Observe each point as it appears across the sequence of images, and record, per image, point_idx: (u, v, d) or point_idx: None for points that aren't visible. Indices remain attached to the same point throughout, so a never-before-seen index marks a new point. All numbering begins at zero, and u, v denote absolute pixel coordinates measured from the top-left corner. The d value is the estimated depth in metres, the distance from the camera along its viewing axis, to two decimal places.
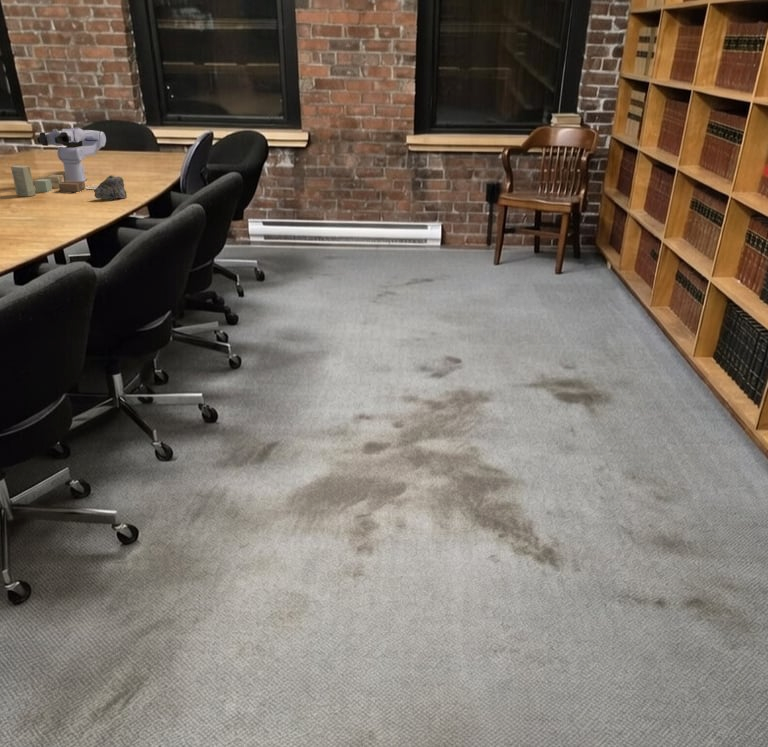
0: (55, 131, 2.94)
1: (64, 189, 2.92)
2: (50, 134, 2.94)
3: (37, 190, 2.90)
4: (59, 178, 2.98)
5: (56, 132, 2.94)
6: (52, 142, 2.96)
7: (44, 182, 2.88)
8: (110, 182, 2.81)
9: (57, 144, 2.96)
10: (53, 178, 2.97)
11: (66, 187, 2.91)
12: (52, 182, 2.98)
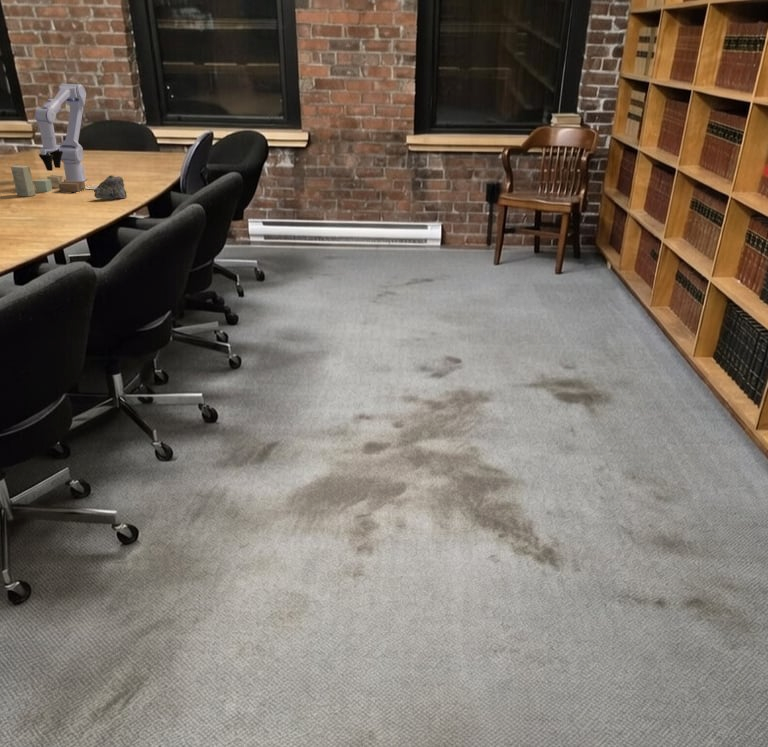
0: None
1: (64, 189, 2.92)
2: None
3: (37, 190, 2.90)
4: (59, 178, 2.98)
5: None
6: None
7: (44, 182, 2.88)
8: (110, 182, 2.81)
9: (56, 150, 2.94)
10: (53, 178, 2.97)
11: (66, 186, 2.91)
12: (52, 182, 2.98)
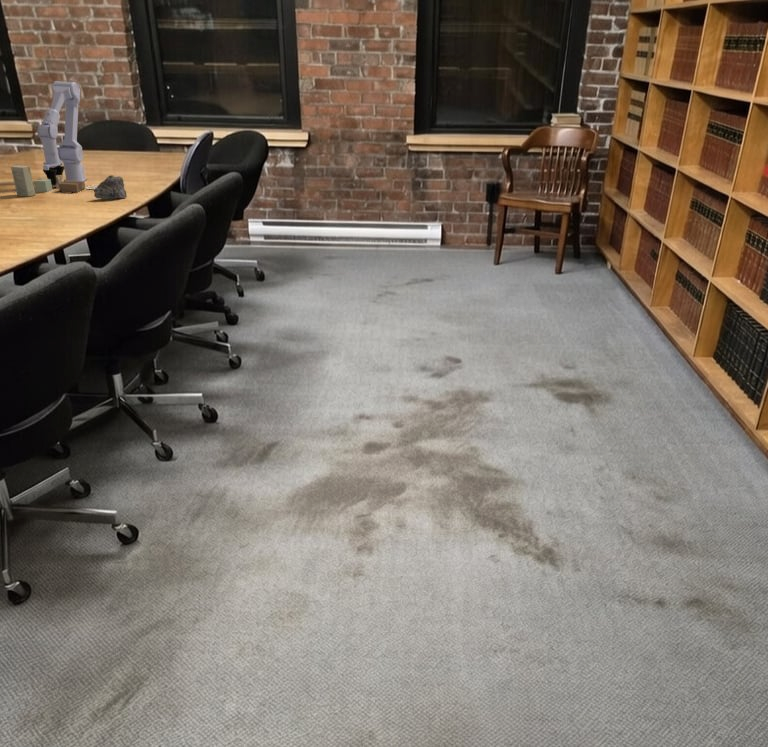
0: None
1: (64, 189, 2.92)
2: None
3: (37, 190, 2.90)
4: (59, 178, 2.98)
5: (46, 164, 2.96)
6: None
7: (44, 182, 2.88)
8: (110, 182, 2.81)
9: (58, 165, 2.97)
10: None
11: (65, 186, 2.91)
12: None
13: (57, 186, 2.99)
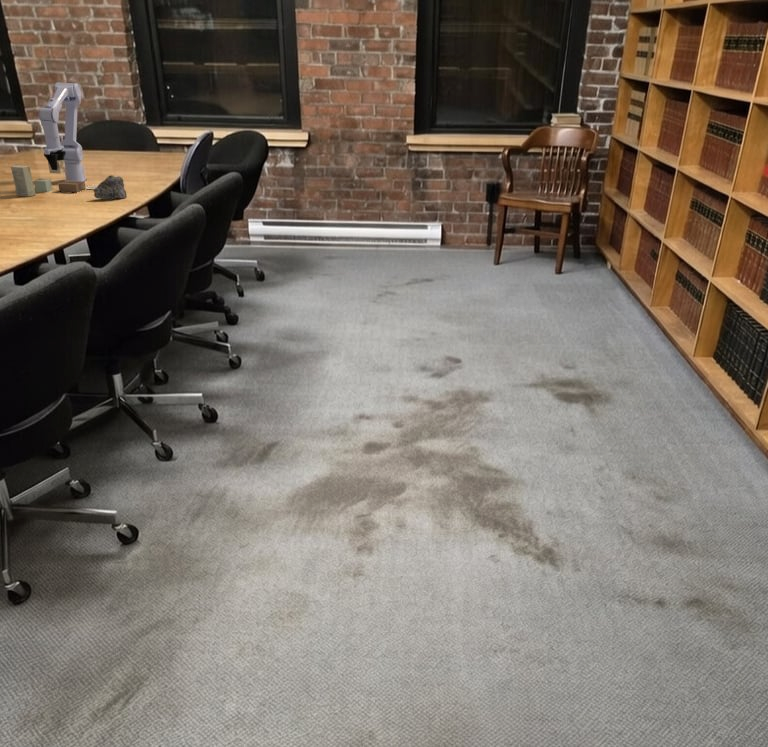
0: None
1: (64, 189, 2.92)
2: None
3: (37, 190, 2.90)
4: (60, 163, 2.94)
5: None
6: None
7: (44, 182, 2.88)
8: (110, 182, 2.81)
9: (59, 149, 2.92)
10: None
11: (65, 186, 2.91)
12: None
13: (58, 171, 2.94)
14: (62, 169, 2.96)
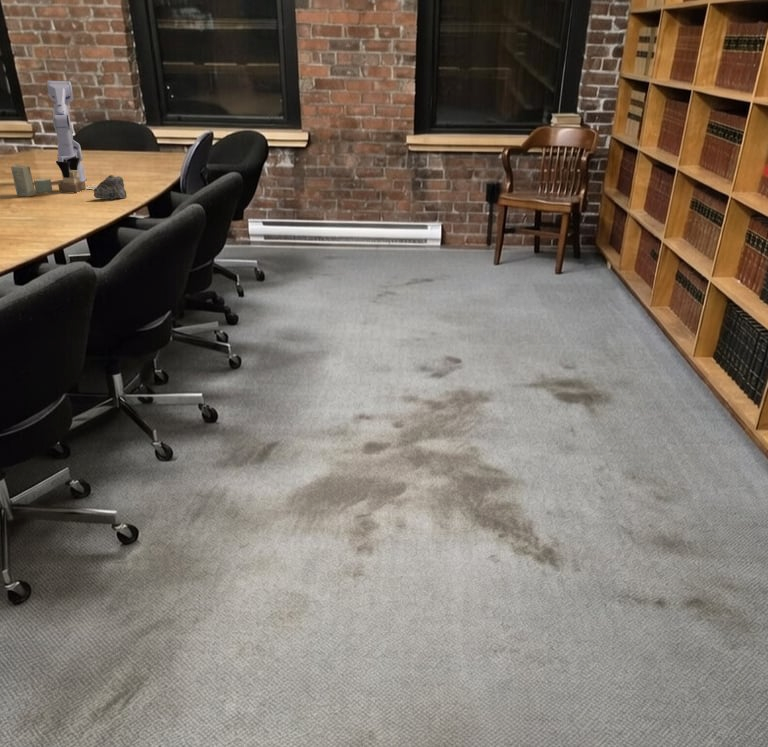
0: None
1: (64, 189, 2.92)
2: None
3: (37, 190, 2.90)
4: (74, 173, 2.91)
5: None
6: None
7: (44, 182, 2.88)
8: (110, 182, 2.81)
9: (73, 156, 2.89)
10: None
11: (65, 187, 2.91)
12: None
13: (72, 181, 2.92)
14: (76, 179, 2.94)
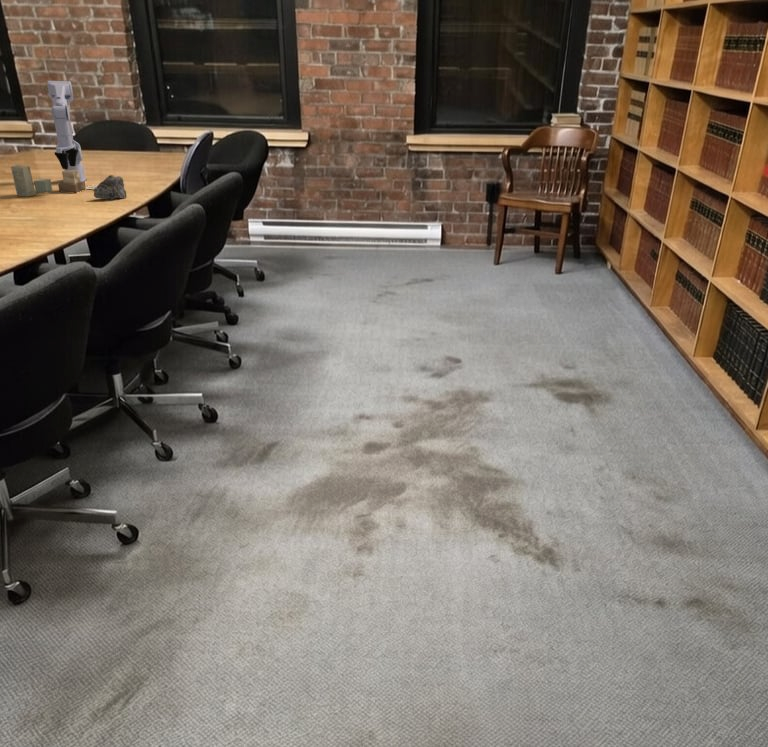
0: None
1: (63, 189, 2.92)
2: None
3: (37, 190, 2.90)
4: (74, 173, 2.91)
5: None
6: None
7: (44, 182, 2.88)
8: (110, 182, 2.81)
9: (71, 148, 2.88)
10: (68, 173, 2.90)
11: (65, 186, 2.91)
12: (67, 177, 2.91)
13: (72, 181, 2.92)
14: (76, 179, 2.94)
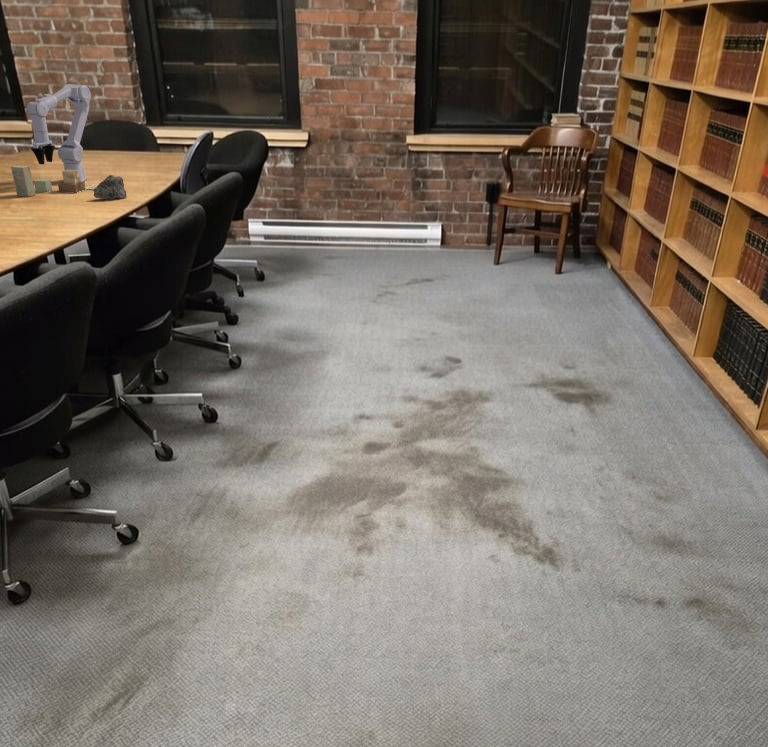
0: None
1: (63, 189, 2.92)
2: None
3: (37, 190, 2.90)
4: (74, 173, 2.91)
5: None
6: None
7: (44, 182, 2.88)
8: (110, 181, 2.81)
9: (48, 143, 2.93)
10: (68, 173, 2.90)
11: (64, 187, 2.91)
12: (67, 177, 2.91)
13: (72, 181, 2.92)
14: (76, 179, 2.94)
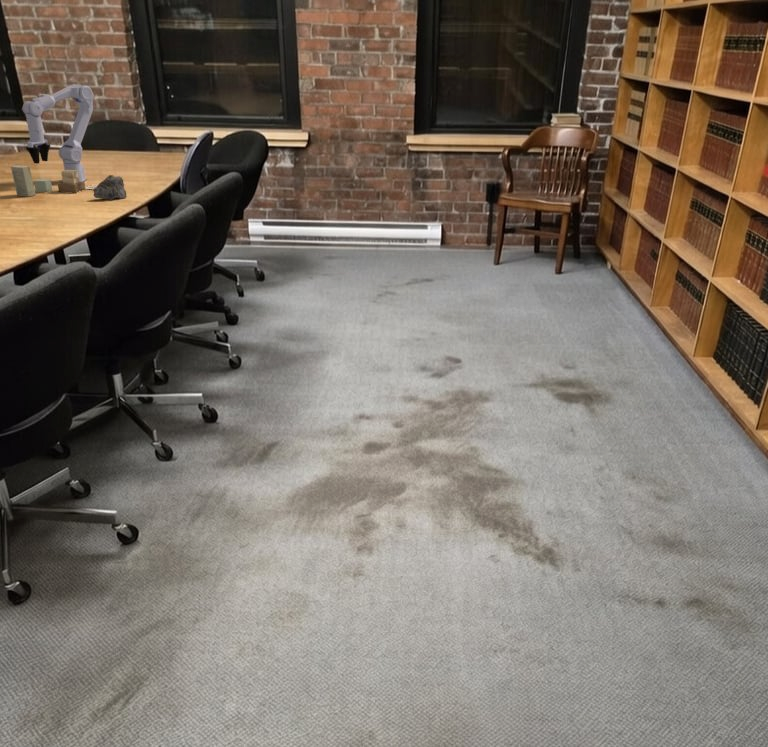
0: None
1: (63, 189, 2.92)
2: None
3: (37, 190, 2.90)
4: (73, 173, 2.91)
5: None
6: None
7: (44, 182, 2.88)
8: (110, 181, 2.81)
9: (43, 143, 2.94)
10: (67, 173, 2.90)
11: (64, 187, 2.91)
12: (66, 177, 2.91)
13: (71, 181, 2.91)
14: (76, 179, 2.93)
